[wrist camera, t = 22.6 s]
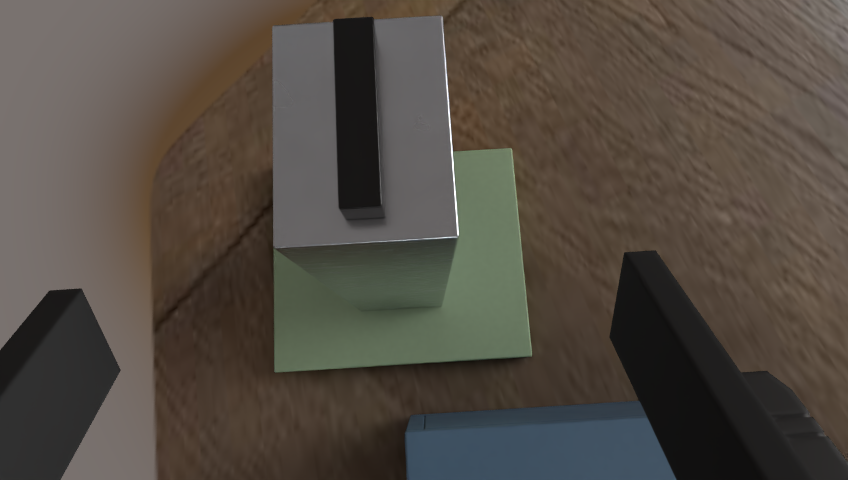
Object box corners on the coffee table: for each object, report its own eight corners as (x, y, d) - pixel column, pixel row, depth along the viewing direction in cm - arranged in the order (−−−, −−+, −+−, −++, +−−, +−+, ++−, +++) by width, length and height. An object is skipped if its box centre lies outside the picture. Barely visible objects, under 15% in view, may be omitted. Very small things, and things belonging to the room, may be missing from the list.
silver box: (360, 312, 31) (260, 240, 13) (356, 206, 32) (260, 0, 14) (442, 306, 31) (462, 227, 13) (435, 202, 32) (444, -11, 14)
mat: (277, 372, 31) (273, 372, 31) (276, 166, 34) (272, 161, 33) (530, 356, 31) (532, 356, 31) (509, 152, 34) (511, 147, 33)
